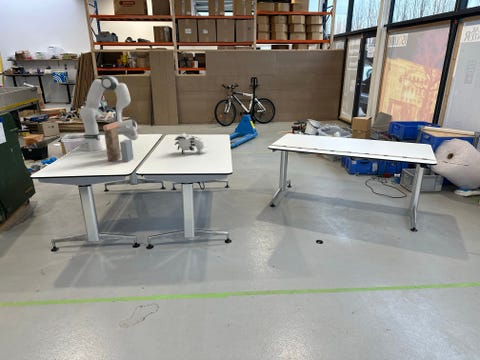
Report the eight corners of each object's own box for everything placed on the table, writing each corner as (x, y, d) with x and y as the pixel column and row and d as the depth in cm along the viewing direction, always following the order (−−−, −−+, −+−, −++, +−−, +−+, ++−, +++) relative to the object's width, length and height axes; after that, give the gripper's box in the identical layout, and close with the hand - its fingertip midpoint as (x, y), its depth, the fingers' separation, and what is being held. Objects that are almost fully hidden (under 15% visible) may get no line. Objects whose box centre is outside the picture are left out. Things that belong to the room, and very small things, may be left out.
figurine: (208, 157, 289) (173, 154, 285) (208, 153, 304) (174, 149, 301) (210, 139, 284) (174, 135, 280) (210, 135, 299) (176, 131, 295)
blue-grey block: (122, 161, 267) (119, 142, 261) (127, 158, 276) (125, 139, 271) (128, 162, 266) (125, 142, 261) (133, 158, 276) (131, 139, 270)
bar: (103, 130, 257) (103, 126, 256) (117, 125, 277) (116, 121, 276) (107, 130, 256) (106, 126, 255) (120, 125, 277) (120, 121, 276)
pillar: (108, 161, 268) (103, 129, 260) (114, 157, 278) (110, 126, 269) (115, 161, 268) (111, 129, 259) (121, 158, 277) (117, 127, 268)
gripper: (116, 127, 294) (108, 121, 281) (138, 128, 292) (131, 122, 278) (115, 134, 293) (107, 129, 279) (137, 135, 290) (130, 129, 277)
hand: (119, 125), depth 279 cm, fingers open, 8 cm apart
